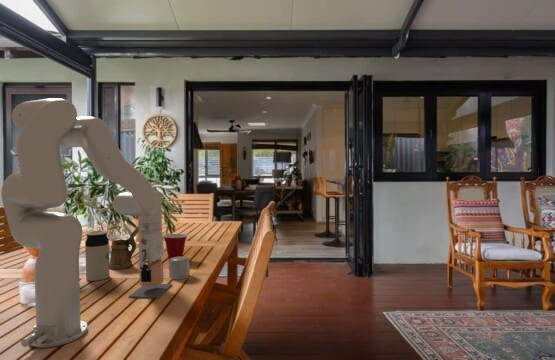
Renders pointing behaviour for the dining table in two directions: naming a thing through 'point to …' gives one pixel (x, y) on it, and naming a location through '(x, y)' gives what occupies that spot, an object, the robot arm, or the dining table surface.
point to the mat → (150, 291)
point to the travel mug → (97, 255)
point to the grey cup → (179, 267)
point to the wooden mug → (122, 252)
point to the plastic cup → (175, 244)
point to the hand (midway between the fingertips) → (151, 277)
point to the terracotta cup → (154, 274)
